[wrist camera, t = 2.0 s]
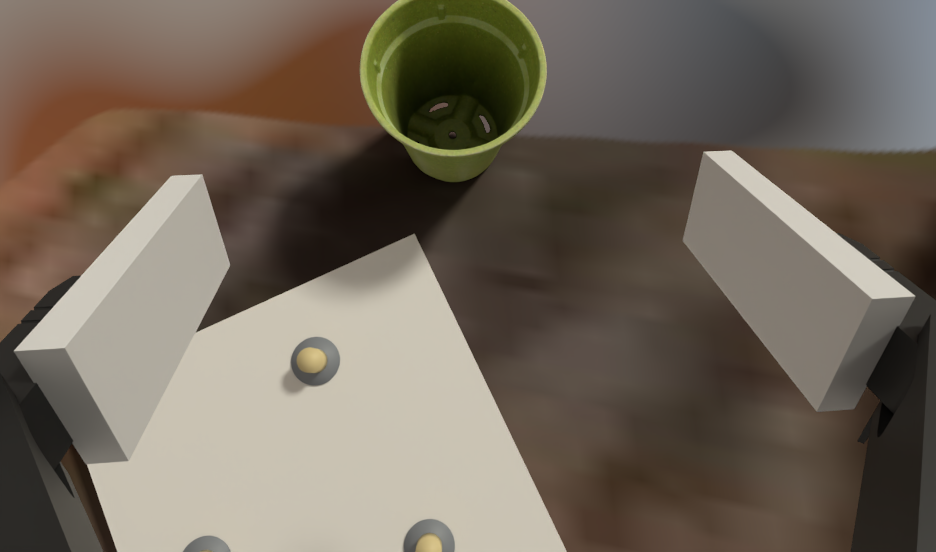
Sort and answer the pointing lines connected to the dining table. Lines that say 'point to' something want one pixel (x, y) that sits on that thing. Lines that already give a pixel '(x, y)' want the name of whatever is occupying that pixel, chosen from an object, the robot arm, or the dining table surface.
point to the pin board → (329, 431)
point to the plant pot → (453, 80)
